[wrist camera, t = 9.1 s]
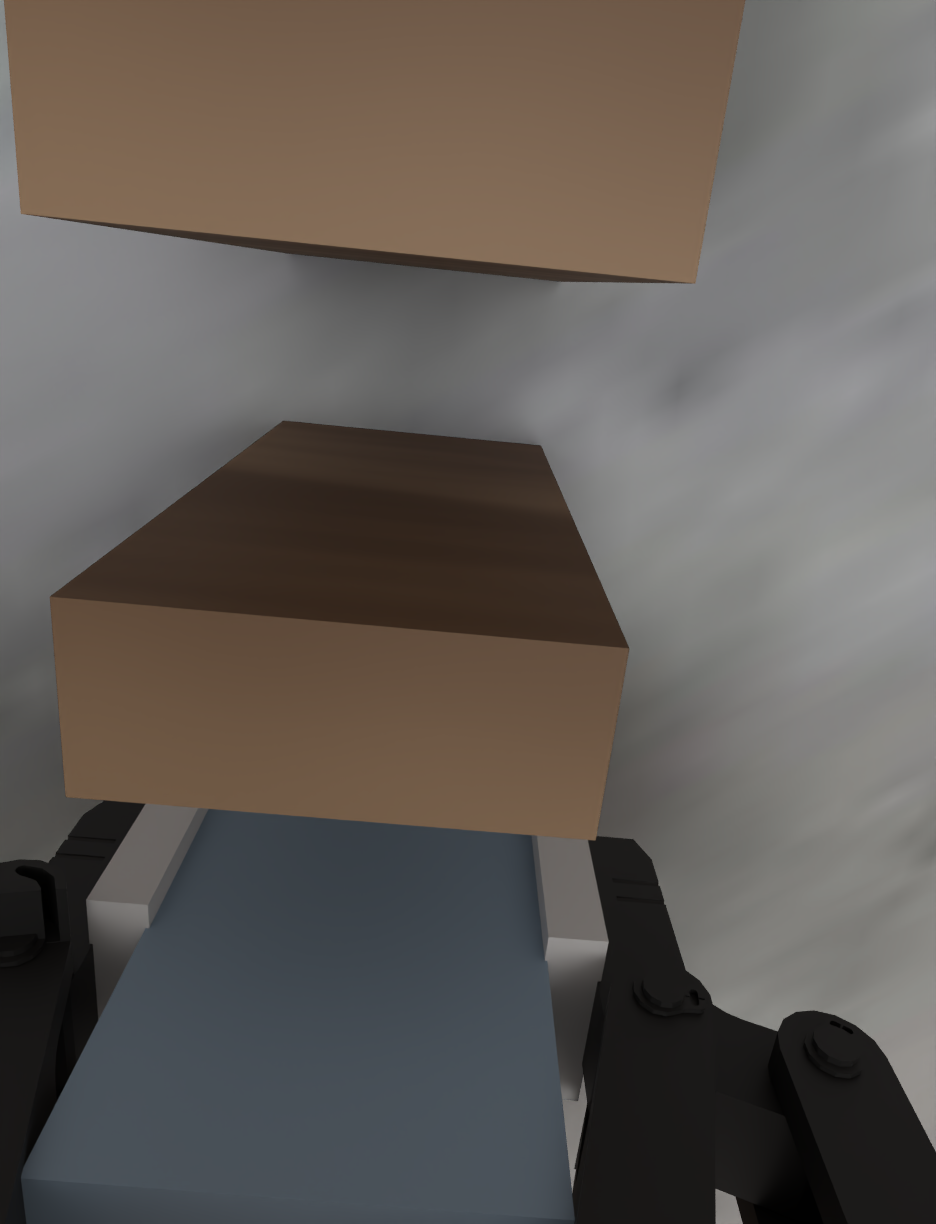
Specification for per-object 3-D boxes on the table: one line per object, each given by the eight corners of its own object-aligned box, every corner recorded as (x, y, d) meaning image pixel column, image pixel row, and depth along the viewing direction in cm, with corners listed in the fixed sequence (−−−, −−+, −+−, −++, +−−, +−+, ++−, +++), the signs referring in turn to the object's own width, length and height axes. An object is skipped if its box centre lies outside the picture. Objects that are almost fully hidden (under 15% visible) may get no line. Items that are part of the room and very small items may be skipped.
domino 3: (508, 798, 18) (545, 1358, 9) (266, 776, 18) (35, 1322, 8) (521, 711, 17) (573, 1220, 8) (267, 688, 17) (17, 1178, 8)
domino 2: (528, 544, 18) (595, 840, 8) (281, 520, 17) (65, 797, 8) (540, 446, 17) (629, 648, 8) (283, 420, 17) (49, 596, 7)
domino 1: (561, 281, 16) (694, 283, 7) (286, 253, 16) (20, 212, 6) (576, 159, 15) (751, -35, 6) (289, 128, 15) (-6, -122, 6)
